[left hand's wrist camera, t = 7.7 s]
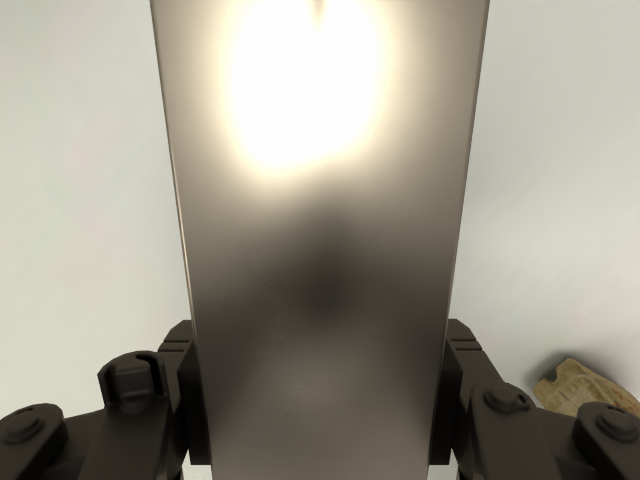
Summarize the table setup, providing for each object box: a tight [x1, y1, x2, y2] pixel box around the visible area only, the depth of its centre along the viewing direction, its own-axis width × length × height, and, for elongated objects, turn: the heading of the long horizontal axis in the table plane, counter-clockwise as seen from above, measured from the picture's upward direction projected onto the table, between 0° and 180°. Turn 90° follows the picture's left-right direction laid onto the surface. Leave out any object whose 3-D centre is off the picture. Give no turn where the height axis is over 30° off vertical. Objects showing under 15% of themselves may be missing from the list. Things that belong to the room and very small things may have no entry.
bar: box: [150, 0, 490, 480], centre depth 9 cm, size 23×5×8 cm, turn 0°
